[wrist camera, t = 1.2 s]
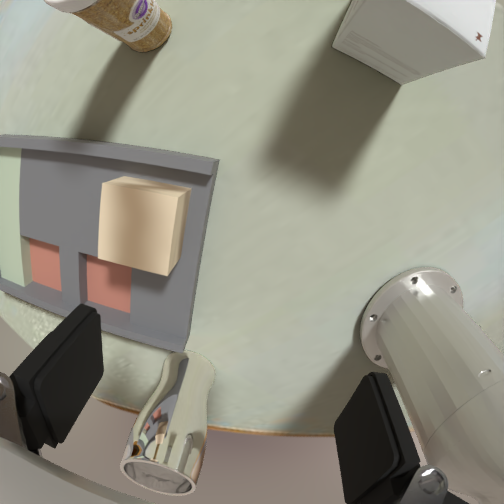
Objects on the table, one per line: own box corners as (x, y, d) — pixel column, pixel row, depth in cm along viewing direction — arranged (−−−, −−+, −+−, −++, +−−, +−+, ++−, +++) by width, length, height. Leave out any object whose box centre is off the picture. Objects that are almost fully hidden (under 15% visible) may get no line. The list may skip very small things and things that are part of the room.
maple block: (191, 188, 24) (178, 197, 20) (180, 256, 26) (167, 276, 22) (124, 176, 24) (102, 183, 20) (118, 242, 26) (97, 258, 22)
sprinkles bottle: (168, 52, 22) (92, -6, 9) (122, 54, 22) (29, 12, 9) (177, 9, 20) (116, -67, 8) (132, 12, 20) (53, -47, 8)
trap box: (219, 159, 25) (213, 162, 22) (189, 334, 31) (182, 353, 28) (4, 134, 24) (-15, 136, 21) (7, 275, 31) (-8, 286, 28)
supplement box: (423, 29, 20) (502, -13, 8) (401, 87, 22) (487, 62, 10) (355, -11, 19) (403, -83, 7) (327, 46, 21) (372, -18, 9)
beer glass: (178, 335, 32) (133, 449, 18) (231, 368, 33) (214, 485, 19) (151, 370, 34) (108, 471, 20) (199, 398, 35) (175, 501, 21)
